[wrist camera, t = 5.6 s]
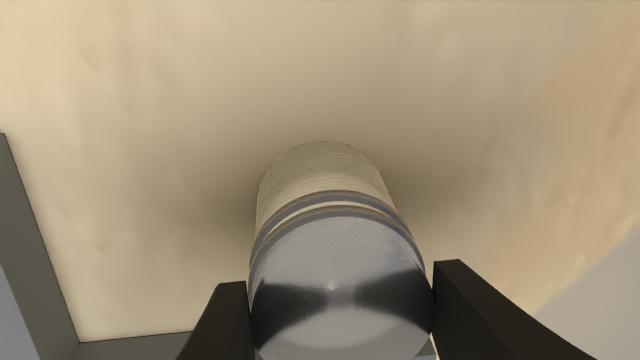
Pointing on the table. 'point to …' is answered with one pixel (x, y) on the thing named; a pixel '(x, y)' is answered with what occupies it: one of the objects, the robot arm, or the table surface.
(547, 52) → the table surface
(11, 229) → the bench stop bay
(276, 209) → the piston
